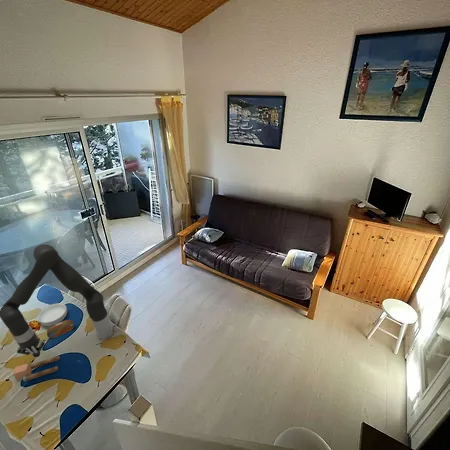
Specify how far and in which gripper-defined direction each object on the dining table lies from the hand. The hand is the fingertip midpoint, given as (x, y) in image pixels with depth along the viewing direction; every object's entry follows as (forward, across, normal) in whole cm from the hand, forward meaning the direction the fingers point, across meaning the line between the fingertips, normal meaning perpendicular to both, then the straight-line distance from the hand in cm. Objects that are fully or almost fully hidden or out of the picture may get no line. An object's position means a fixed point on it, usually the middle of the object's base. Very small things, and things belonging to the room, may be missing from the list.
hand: (37, 355), depth 134 cm
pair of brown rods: (+13, +2, 0) cm, 13 cm away
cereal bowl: (+13, 0, -37) cm, 40 cm away
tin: (+13, -6, -23) cm, 27 cm away
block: (+12, +10, -1) cm, 16 cm away
